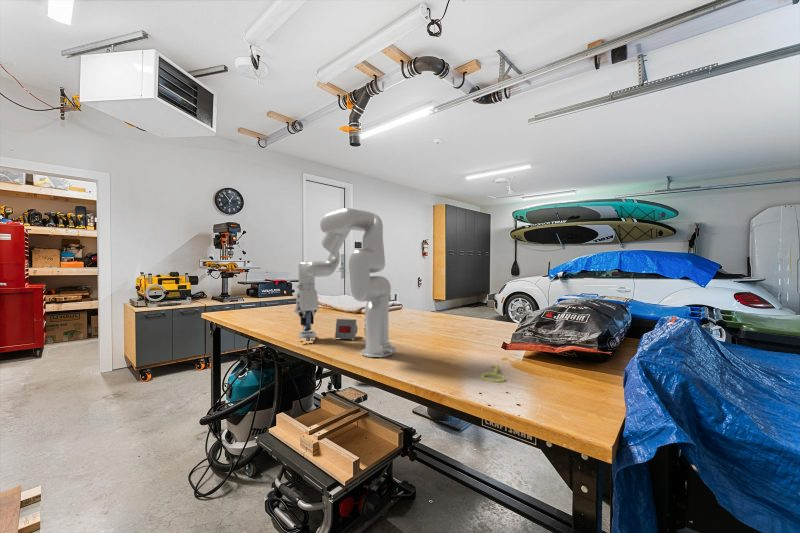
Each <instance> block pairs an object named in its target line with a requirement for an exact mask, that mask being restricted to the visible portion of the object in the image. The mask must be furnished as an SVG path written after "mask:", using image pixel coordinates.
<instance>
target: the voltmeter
mask: <svg viewBox="0 0 800 533" xmlns="http://www.w3.org/2000/svg"><path fill="white" fill-rule="evenodd" d="M363 330H364V331H363V332H364V333H365V327H364V329H363ZM357 333H358V325H357V319H356V318H355V319H353V318H352V319H351V318H336V321H335V333H334V334H335V335H334V336H335V337H334V339H335V338H340V339H339V340H341V339H355V340H356V335H357Z"/></svg>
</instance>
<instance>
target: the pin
mask: <svg viewBox="0 0 800 533" xmlns="http://www.w3.org/2000/svg"><path fill="white" fill-rule="evenodd" d="M311 312H312V311H306V312H305V317H306V326H303V325H302V331H309V330H312V324H311Z"/></svg>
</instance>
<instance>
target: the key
mask: <svg viewBox="0 0 800 533" xmlns="http://www.w3.org/2000/svg"><path fill="white" fill-rule="evenodd" d="M490 368H492V369H493V368H494V370H493V371H491V372H485V373H484V372H483V373H481V376H480V378H481V380H483V381H487V382H492V383H504V382H506V377H505V376H504V375H502V374H499V373H498V372H499V369H500V364H496V365H494V364H491V365H490ZM488 377H491V379H490V378H488ZM492 378H497V379H492Z"/></svg>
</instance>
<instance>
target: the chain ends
mask: <svg viewBox="0 0 800 533" xmlns="http://www.w3.org/2000/svg"><path fill="white" fill-rule="evenodd" d="M302 331H303V332H302ZM302 331H298V340H299V339H301V338H306V341H310V338H316V336H317V333H316V330H312V331H304V330H302ZM316 339H317V338H316ZM311 341H314V342H315V340H313V339H311Z"/></svg>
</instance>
